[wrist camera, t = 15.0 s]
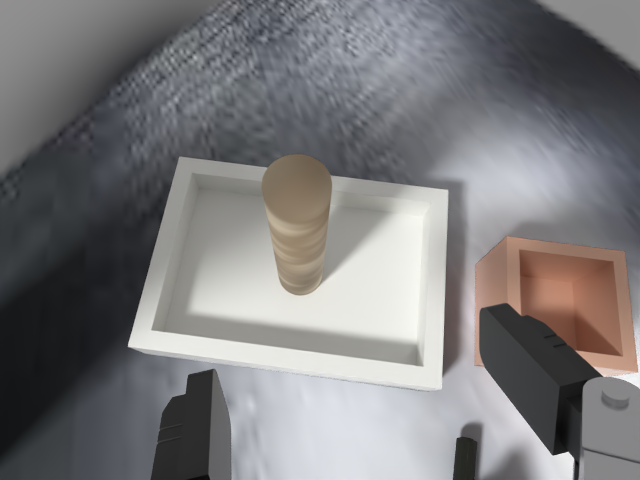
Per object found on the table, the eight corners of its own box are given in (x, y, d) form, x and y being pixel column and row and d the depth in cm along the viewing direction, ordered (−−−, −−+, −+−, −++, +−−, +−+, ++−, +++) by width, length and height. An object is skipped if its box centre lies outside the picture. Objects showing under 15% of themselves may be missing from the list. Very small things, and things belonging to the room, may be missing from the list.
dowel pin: (275, 292, 34) (255, 212, 21) (282, 250, 35) (267, 149, 22) (319, 298, 34) (327, 221, 21) (324, 256, 35) (335, 158, 22)
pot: (474, 365, 33) (508, 355, 28) (475, 264, 36) (506, 236, 30) (582, 380, 33) (638, 372, 27) (575, 277, 36) (624, 251, 30)
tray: (145, 353, 33) (127, 346, 30) (190, 179, 38) (179, 156, 35) (428, 391, 33) (441, 389, 29) (436, 209, 37) (448, 190, 34)
